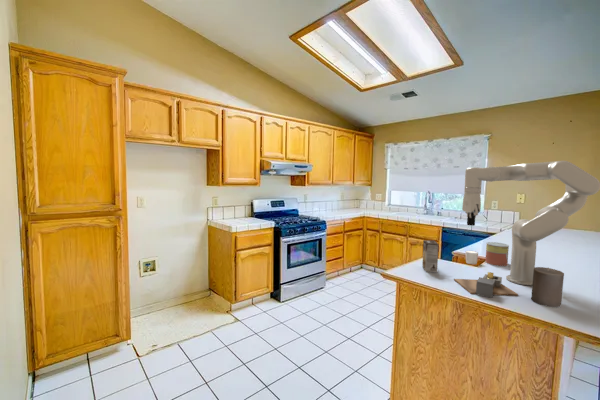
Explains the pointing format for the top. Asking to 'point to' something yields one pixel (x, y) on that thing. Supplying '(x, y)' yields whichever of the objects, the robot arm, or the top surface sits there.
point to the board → (471, 287)
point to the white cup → (471, 257)
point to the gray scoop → (497, 280)
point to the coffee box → (430, 255)
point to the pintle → (490, 275)
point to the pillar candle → (547, 286)
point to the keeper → (485, 287)
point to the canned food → (497, 254)
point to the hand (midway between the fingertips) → (470, 225)
